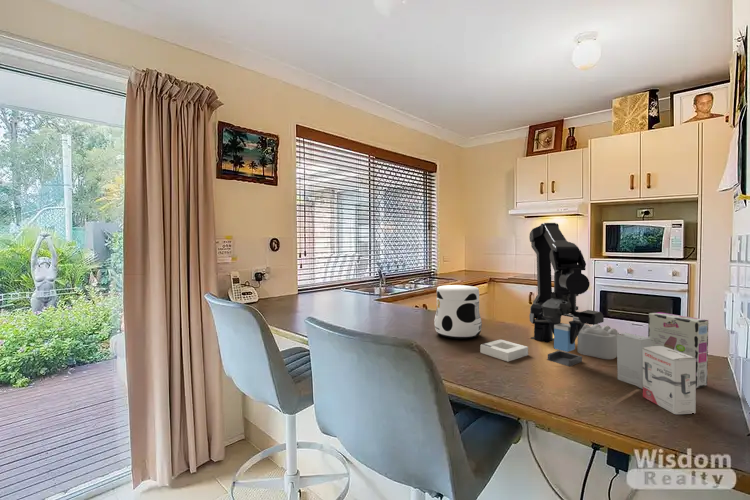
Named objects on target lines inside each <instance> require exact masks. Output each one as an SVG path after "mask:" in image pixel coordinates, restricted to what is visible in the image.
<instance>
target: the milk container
mask: <svg viewBox="0 0 750 500" xmlns="http://www.w3.org/2000/svg"><path fill="white" fill-rule="evenodd" d="M479 290H480V289H479V287H477V286H473V285H463V284H452V285H451V284H448V285H447V284H446V285H439V286H437V288H436V312H435V316H434V321H433V322H434V329H435V331H436V332H435V333H437V334H438V335H439V336H442V337H445V338H448V339H449V338H450V339H457V340H459V339H460V340H463V339H464V340H466V339H472V338H475V337H477V336H479V335H480V333H481V332H482V328H483V327H482V326H483V324H482V323H483V322H482V316H481V313H480V291H479Z"/></svg>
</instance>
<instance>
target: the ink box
mask: <svg viewBox="0 0 750 500" xmlns="http://www.w3.org/2000/svg"><path fill="white" fill-rule="evenodd" d="M642 351H643V389H642V398H644V399H646V400H648V401H650V402H652V403H653V404H655V405H657V406H658V407H660V408H662V409H664V410H667V411H668V412H670V413H672V414H674V415H690V414H692V413H694V414H696V413H697V412H696V411H697V409H696V408H697V407H696V404H697V403H696V400H697V399H696V398H697V397H696V394H697V393H696V389H697V388H696V359H694V357H692V356H689V355H687V354H684V353H681V352H678V351H675V350H672V349H670V348H667V347H663V346H651V347H643V350H642Z"/></svg>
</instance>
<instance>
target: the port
mask: <svg viewBox="0 0 750 500" xmlns="http://www.w3.org/2000/svg"><path fill="white" fill-rule="evenodd" d="M479 349H480V350H479V351H480V354H483V355H486V356H489V357H492V358H495V359H498V360H502V361H505V362H511V361H515V360H517V359H521V358H524V357H527V356H529V346H526V345H523V344H519V343H516V342H511V341H508V340H504V339H502V338H501V339H497V340H492V341H489V342H485V343H482V344H480V348H479Z"/></svg>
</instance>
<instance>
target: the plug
mask: <svg viewBox="0 0 750 500" xmlns="http://www.w3.org/2000/svg"><path fill="white" fill-rule="evenodd" d="M570 330H571V326H570V324H569V323H563V322H561V323H559V324H556V325H554V334H553V338H554V341H553V349H555V350H557V351H559V350H560V351H563V352H567V353H570V352H571V351H574V350H576V341H575V342H574V343H573V344H570Z"/></svg>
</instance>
